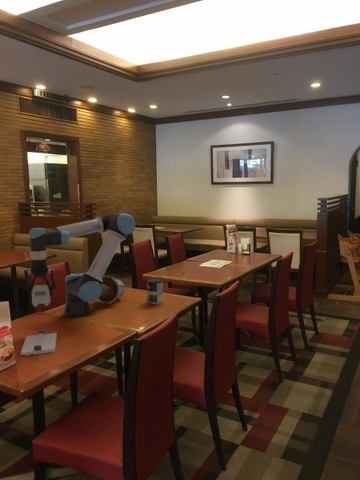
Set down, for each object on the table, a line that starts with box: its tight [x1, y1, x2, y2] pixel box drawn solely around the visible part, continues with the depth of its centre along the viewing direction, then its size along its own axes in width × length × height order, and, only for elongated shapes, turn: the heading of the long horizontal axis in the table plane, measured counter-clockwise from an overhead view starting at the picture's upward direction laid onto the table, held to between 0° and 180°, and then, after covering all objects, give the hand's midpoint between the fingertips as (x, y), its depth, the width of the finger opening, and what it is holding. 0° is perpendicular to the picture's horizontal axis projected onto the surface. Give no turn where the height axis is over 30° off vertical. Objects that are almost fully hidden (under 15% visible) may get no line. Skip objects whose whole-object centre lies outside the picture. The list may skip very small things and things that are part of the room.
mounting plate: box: [20, 329, 58, 356], centre depth 180 cm, size 14×20×4 cm
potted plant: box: [97, 274, 125, 305], centre depth 243 cm, size 18×18×30 cm
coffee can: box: [146, 277, 164, 305], centre depth 246 cm, size 10×10×14 cm
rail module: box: [32, 284, 50, 308], centre depth 198 cm, size 7×7×9 cm
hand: (41, 302), depth 199 cm, fingers closed on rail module, 7 cm apart
